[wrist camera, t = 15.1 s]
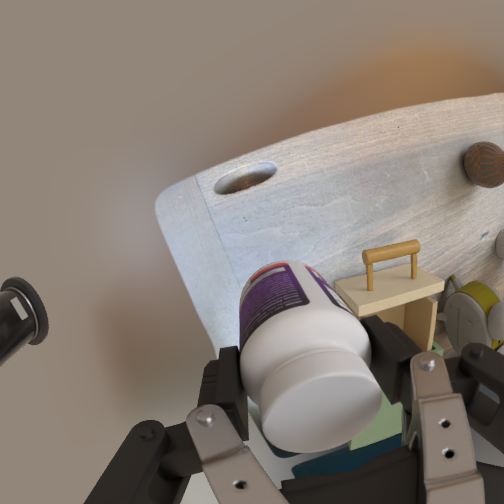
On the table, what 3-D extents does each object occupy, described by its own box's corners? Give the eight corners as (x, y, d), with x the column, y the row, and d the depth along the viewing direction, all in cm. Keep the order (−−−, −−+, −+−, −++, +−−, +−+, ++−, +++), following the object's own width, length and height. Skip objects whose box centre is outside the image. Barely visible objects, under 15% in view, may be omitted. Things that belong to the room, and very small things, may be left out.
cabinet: (332, 340, 36) (355, 382, 27) (408, 318, 36) (443, 349, 26) (334, 409, 39) (350, 450, 30) (400, 387, 39) (424, 421, 30)
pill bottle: (235, 336, 17) (231, 463, 8) (244, 254, 16) (247, 348, 6) (317, 340, 17) (368, 455, 8) (334, 263, 16) (426, 347, 7)
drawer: (330, 245, 32) (355, 262, 24) (409, 229, 32) (445, 241, 24) (338, 366, 36) (356, 401, 28) (406, 345, 36) (431, 372, 28)
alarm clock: (458, 325, 37) (511, 366, 22) (430, 343, 37) (482, 392, 23) (457, 266, 34) (524, 299, 20) (426, 284, 35) (494, 326, 20)
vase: (481, 191, 32) (519, 196, 23) (455, 179, 31) (496, 181, 23) (484, 152, 30) (521, 151, 22) (459, 136, 30) (498, 131, 21)
